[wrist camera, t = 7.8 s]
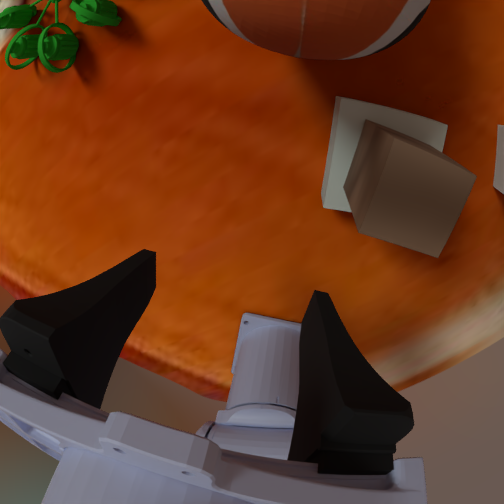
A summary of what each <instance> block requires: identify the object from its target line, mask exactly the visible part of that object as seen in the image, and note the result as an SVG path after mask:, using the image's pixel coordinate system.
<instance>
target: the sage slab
mask: <svg viewBox="0 0 504 504" xmlns="http://www.w3.org/2000/svg"><path fill="white" fill-rule="evenodd" d="M365 119H367V120H370V121H372V122H375V123H378V124H380V125H383V126H386V127H388V128H391V129H393V130H396V131H398V132H401V133H403V134H405V135H408V136H410V137H413V138H415V139H417V140H419V141H422V142H424V143H426V144H428V145H431V146H432V147H434V148H435V149H437V150H439V151H440V152H442V151H443V147H444V142H445V137H446V133H447V128H448V125H446V124H443V123H441V122H438V121H436V120H433V119H430V118H427V117H424V116H420V115H417V114H413V113H410V112H406V111H402V110H399V109H395V108H391V107H387V106H383V105H378V104H374V103H370V102H365V101H360V100H356V99H351V98H346V97H340V96H336V99H335V107H334V114H333V121H332V128H331V135H330V142H329V148H328V155H327V161H326V167H325V173H324V179H323V185H322V191H321V196H322V202H323V208H328V209H335V210H341V211H347V212H352V211H351V208H350V205H349V203H348V200H347V197H346V194H345V191H344V188H343V186H344V183H345V180H346V177H347V174H348V171H349V168H350V166H351V163H352V160H353V157H354V154H355V151H356V148H357V145H358V141H359V138H360V135H361V132H362V129H363V126H364V123H365Z"/></svg>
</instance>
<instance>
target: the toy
mask: <svg viewBox="0 0 504 504" xmlns="http://www.w3.org/2000/svg"><path fill="white" fill-rule="evenodd" d="M202 1H203V3H204V5H205V6H206V7H207V9H208V10H209V11H210V12H211V14H212V15H213V16H214V17H215V18H216V19H217V20H218V21H219V22H220V23H221V24H223V25H224V26H225V27H226V28H228V29H229V30H230V31H232V32H233V33H234V34H236V35H238V36H240V37H241V38H243V39H245V40H247V41H249V42H251V43H253V44H255V45H257V46H260V47H263V48H265V49H268V50H271V51H274V52H277V53H281V54H284V55H289V56H293V57H298V58H305V59H315V60H344V59H352V58H359V57H363V56H367V55H371V54H374V53H377V52H380V51H382V50H384V49H386V48H388V47H390V46H392V45H394V44H395V43H397V42H399V41H400V40H401V39H403V38H404V37H405V36H407V35H408V34H409V33H410V32H411V31H412V30H413V29H414V28H415V26H416V25H417V24H418V23H419V22H420V20H421V18H422V17H423V15H424V14H425V12H426V10H427V8H428V6H429V3H430V0H202Z"/></svg>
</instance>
